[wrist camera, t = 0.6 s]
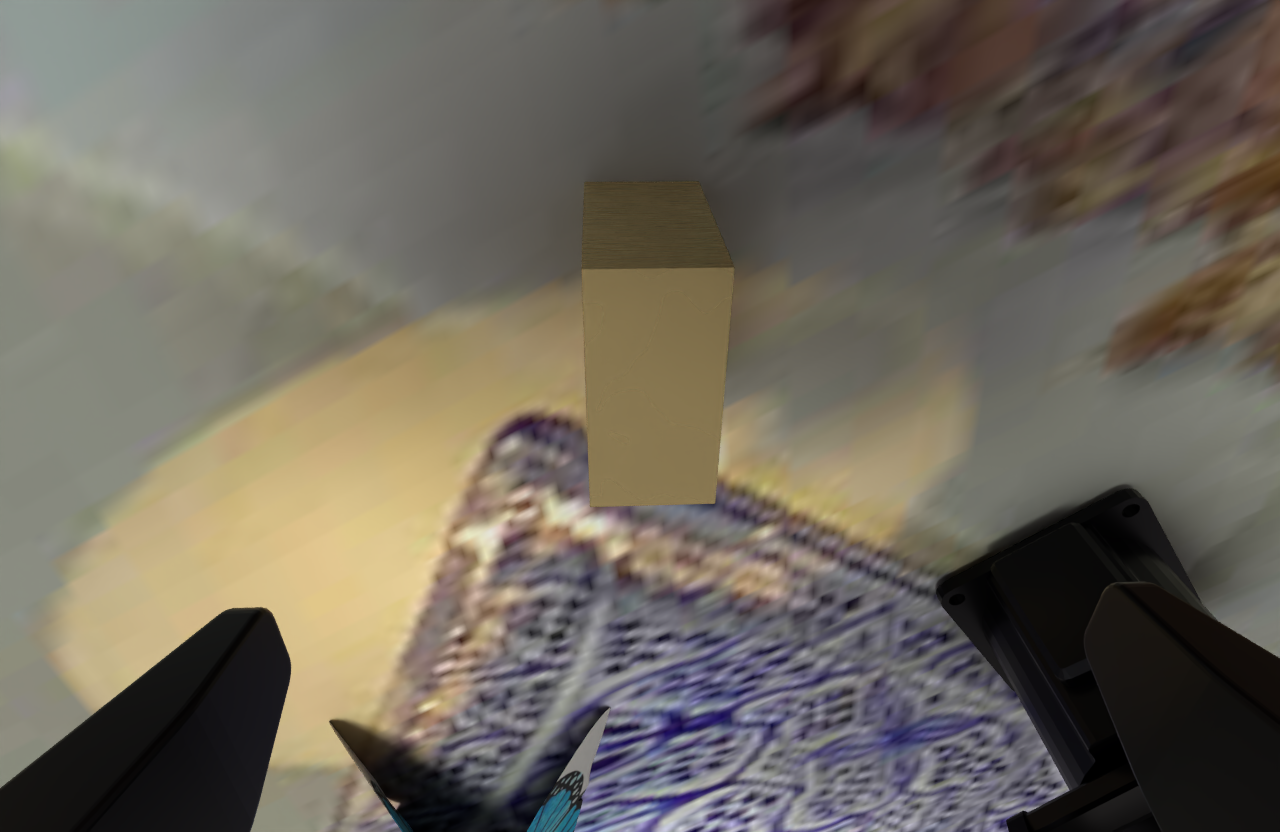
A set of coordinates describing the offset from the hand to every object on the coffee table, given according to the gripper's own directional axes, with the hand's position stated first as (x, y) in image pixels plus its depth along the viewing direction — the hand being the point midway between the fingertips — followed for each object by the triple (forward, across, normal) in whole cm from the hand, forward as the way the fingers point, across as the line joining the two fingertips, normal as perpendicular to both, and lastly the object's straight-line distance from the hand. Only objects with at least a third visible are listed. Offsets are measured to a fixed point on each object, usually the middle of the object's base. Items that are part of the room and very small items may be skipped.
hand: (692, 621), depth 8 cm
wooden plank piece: (+11, 0, +1) cm, 11 cm away
